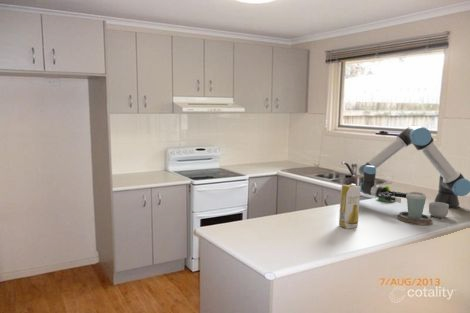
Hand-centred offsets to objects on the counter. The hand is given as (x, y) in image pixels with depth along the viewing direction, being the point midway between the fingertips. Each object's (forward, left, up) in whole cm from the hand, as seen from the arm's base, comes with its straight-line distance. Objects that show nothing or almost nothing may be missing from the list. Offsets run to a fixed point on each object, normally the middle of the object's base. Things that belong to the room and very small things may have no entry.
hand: (408, 199), depth 223 cm
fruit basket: (-23, -36, -11) cm, 44 cm away
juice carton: (+47, 0, -11) cm, 48 cm away
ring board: (0, +5, -11) cm, 12 cm away
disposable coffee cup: (0, +5, -10) cm, 11 cm away
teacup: (-22, +4, -11) cm, 25 cm away
